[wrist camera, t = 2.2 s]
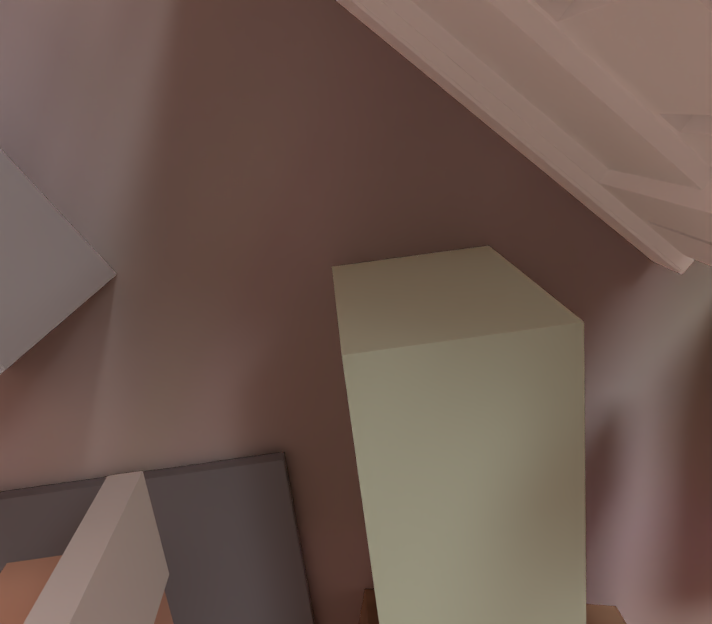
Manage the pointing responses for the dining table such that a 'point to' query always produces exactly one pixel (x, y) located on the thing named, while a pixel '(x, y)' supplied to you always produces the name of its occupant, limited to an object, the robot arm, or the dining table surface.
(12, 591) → the terracotta brick
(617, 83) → the castle model
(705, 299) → the dining table surface
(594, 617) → the walnut brick
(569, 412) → the sage brick
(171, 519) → the felt mat
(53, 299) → the grey brick
